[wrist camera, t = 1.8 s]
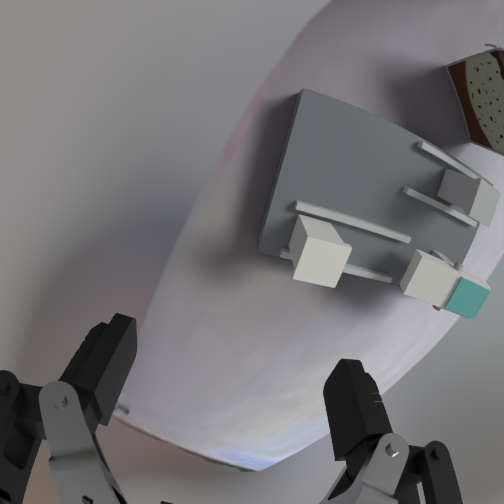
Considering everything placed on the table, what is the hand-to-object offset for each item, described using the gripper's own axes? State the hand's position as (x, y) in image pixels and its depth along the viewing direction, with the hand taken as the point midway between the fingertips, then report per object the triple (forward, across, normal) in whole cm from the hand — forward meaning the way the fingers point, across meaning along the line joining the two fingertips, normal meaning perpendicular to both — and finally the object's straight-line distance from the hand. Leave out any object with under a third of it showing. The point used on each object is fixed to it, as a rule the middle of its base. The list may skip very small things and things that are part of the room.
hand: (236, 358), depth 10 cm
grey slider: (+15, -19, -9) cm, 26 cm away
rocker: (+12, -20, 0) cm, 24 cm away
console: (+19, -14, -5) cm, 23 cm away
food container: (+19, -22, -21) cm, 36 cm away
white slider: (+15, -5, 0) cm, 16 cm away
